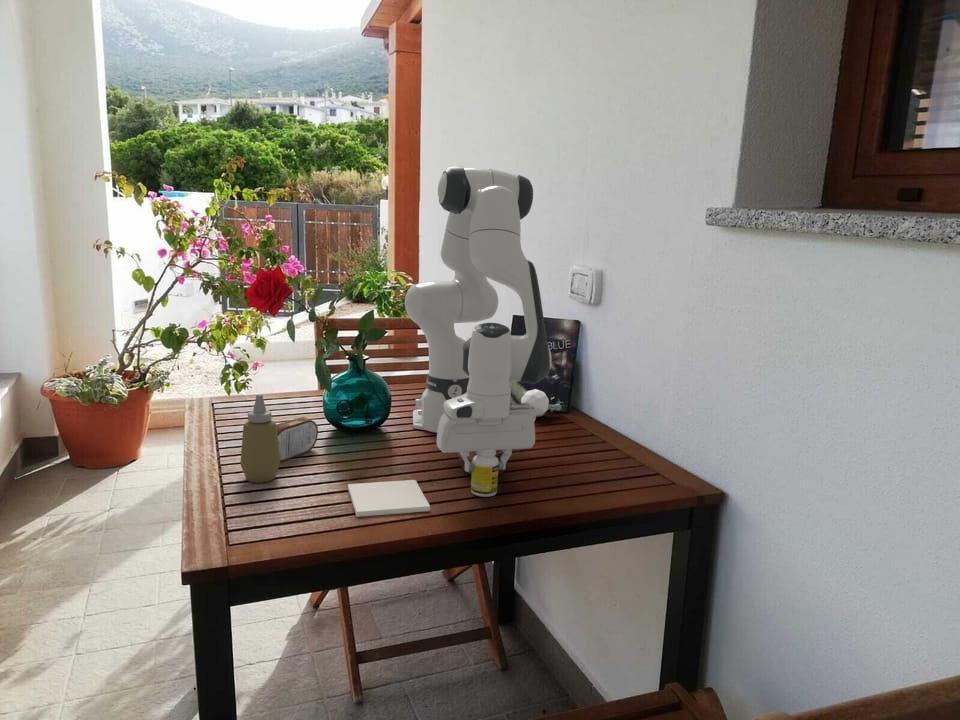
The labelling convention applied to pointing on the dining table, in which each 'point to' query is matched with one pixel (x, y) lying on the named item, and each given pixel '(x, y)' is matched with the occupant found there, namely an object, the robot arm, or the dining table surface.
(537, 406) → the perfume bottle
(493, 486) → the supplement bottle
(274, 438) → the squeeze bottle
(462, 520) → the dining table surface
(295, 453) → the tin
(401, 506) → the tile
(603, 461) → the dining table surface
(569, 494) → the dining table surface
